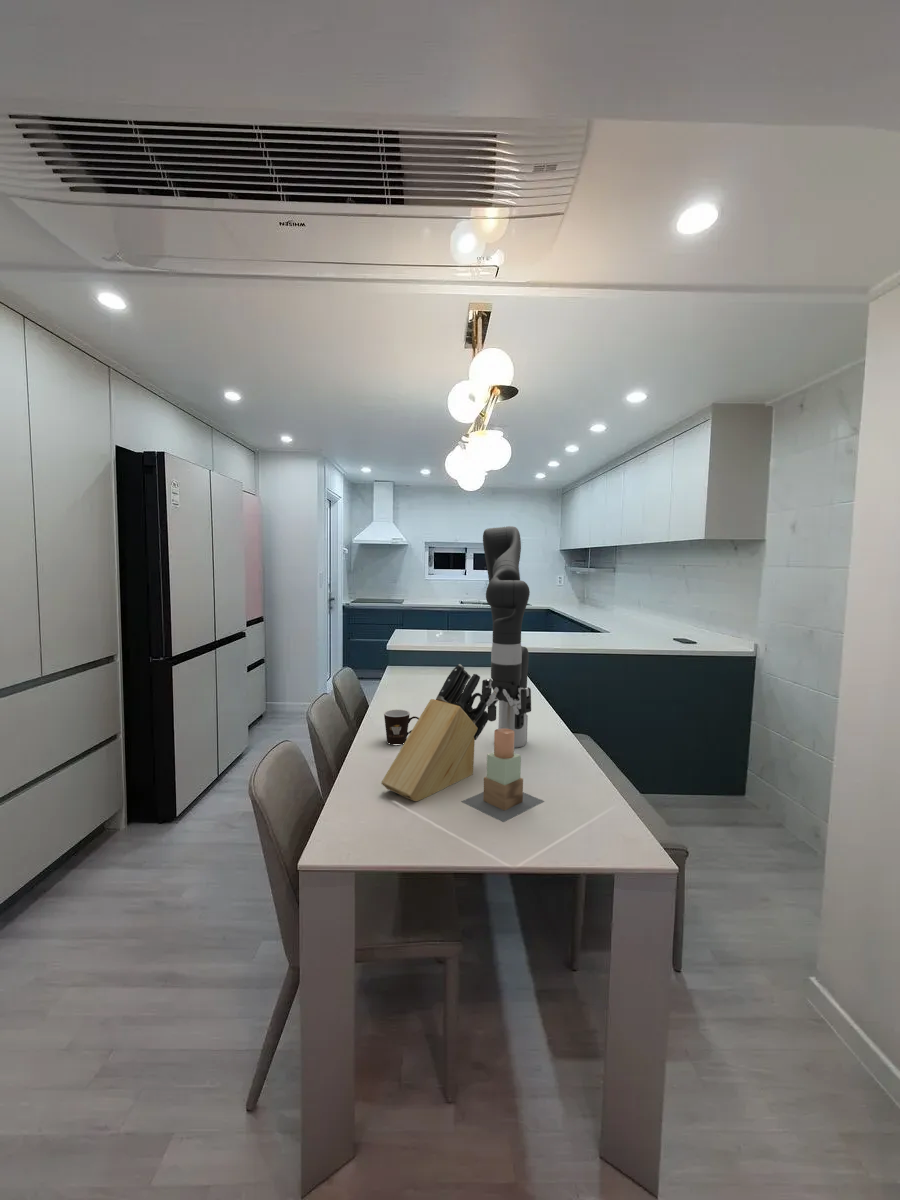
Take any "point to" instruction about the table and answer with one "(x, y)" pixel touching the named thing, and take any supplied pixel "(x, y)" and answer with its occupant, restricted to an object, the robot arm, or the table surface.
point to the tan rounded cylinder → (504, 743)
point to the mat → (499, 813)
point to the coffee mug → (397, 725)
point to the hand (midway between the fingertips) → (505, 724)
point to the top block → (503, 768)
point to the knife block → (440, 741)
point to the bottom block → (503, 793)
